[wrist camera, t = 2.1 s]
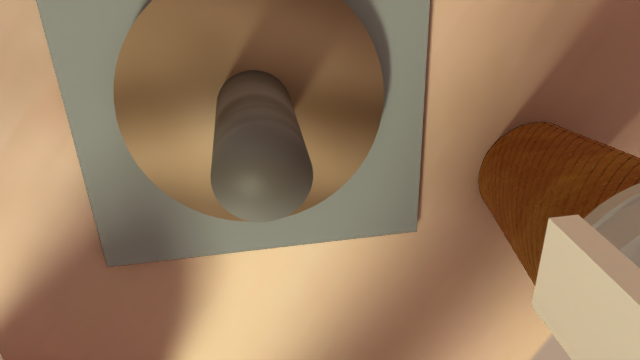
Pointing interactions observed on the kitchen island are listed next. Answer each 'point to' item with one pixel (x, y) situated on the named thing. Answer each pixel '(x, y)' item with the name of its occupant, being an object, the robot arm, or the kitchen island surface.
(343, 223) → the slate mat
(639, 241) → the disposable coffee cup
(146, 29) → the wooden lid with knob
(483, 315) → the kitchen island surface
